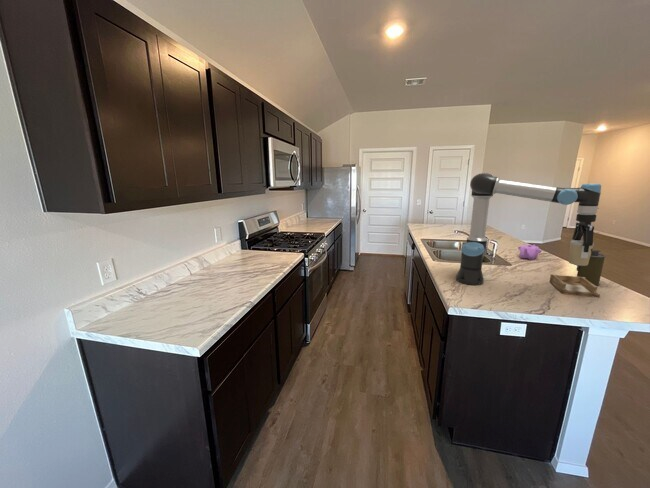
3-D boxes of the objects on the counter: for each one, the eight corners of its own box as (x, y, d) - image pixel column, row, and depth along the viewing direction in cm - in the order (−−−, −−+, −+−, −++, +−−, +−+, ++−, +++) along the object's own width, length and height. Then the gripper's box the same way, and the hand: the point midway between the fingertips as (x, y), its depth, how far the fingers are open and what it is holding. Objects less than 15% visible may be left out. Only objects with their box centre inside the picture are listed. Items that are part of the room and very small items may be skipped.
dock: (561, 293, 150) (562, 284, 148) (549, 282, 166) (550, 274, 165) (599, 297, 144) (601, 288, 143) (583, 285, 160) (584, 277, 159)
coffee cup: (594, 266, 144) (598, 243, 141) (573, 265, 146) (577, 243, 143) (582, 261, 153) (586, 240, 150) (562, 260, 155) (566, 240, 152)
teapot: (543, 261, 206) (545, 247, 203) (522, 260, 209) (524, 246, 206) (533, 256, 220) (535, 242, 218) (514, 255, 223) (516, 242, 221)
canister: (594, 280, 166) (601, 248, 162) (602, 286, 157) (610, 252, 153) (571, 278, 171) (577, 247, 166) (578, 284, 162) (584, 251, 157)
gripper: (607, 216, 132) (599, 261, 137) (585, 211, 152) (579, 251, 157) (587, 216, 135) (580, 260, 140) (568, 211, 155) (562, 250, 160)
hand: (579, 255), depth 148 cm, fingers closed on coffee cup, 9 cm apart
